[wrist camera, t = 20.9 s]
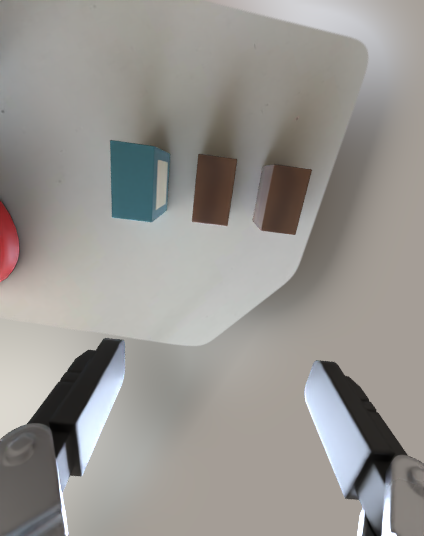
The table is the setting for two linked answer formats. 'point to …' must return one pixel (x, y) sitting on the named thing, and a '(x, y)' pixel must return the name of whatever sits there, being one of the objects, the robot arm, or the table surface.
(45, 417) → the robot arm
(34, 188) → the table surface
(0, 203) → the table lamp
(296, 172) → the walnut block
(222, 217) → the walnut block
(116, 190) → the teal block
